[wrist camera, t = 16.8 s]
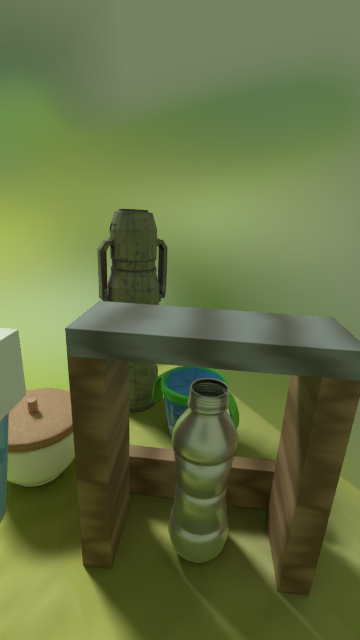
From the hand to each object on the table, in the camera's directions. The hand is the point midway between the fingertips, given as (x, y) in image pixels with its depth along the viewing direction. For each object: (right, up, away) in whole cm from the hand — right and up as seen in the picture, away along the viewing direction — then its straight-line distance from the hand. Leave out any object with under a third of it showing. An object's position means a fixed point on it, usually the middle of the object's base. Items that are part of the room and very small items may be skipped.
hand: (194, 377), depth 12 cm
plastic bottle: (+1, -23, +25) cm, 34 cm away
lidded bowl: (-20, -19, +35) cm, 45 cm away
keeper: (+1, -22, +27) cm, 35 cm away
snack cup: (+1, -17, +43) cm, 46 cm away
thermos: (-10, -14, +52) cm, 55 cm away
